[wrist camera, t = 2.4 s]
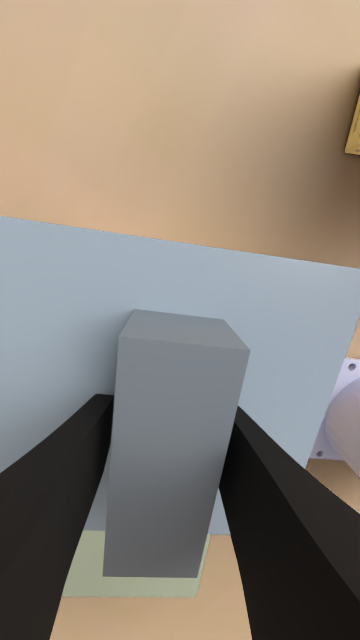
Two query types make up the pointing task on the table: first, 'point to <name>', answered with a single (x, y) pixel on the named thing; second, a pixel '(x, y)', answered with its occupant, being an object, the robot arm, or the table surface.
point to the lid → (164, 369)
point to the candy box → (354, 133)
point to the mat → (90, 582)
